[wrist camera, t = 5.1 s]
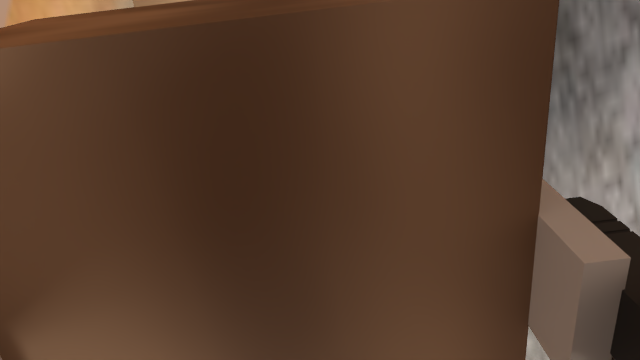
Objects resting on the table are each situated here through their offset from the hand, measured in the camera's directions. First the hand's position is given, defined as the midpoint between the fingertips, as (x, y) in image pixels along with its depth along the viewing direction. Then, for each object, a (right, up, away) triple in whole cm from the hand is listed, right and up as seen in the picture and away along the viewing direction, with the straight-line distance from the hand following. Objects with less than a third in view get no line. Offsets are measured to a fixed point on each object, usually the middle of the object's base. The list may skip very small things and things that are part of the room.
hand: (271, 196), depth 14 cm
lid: (0, 0, +1) cm, 1 cm away
